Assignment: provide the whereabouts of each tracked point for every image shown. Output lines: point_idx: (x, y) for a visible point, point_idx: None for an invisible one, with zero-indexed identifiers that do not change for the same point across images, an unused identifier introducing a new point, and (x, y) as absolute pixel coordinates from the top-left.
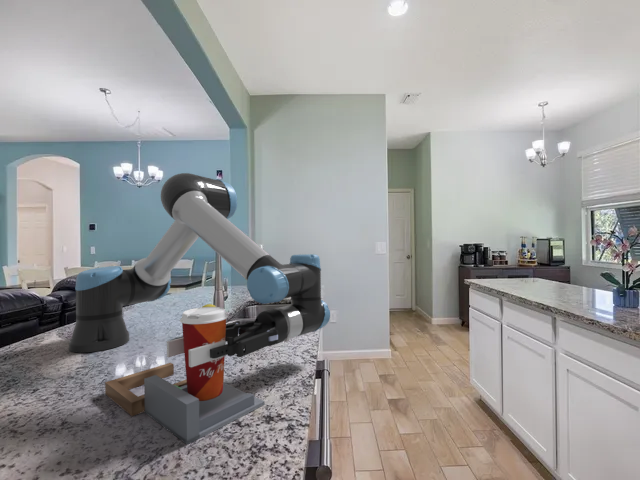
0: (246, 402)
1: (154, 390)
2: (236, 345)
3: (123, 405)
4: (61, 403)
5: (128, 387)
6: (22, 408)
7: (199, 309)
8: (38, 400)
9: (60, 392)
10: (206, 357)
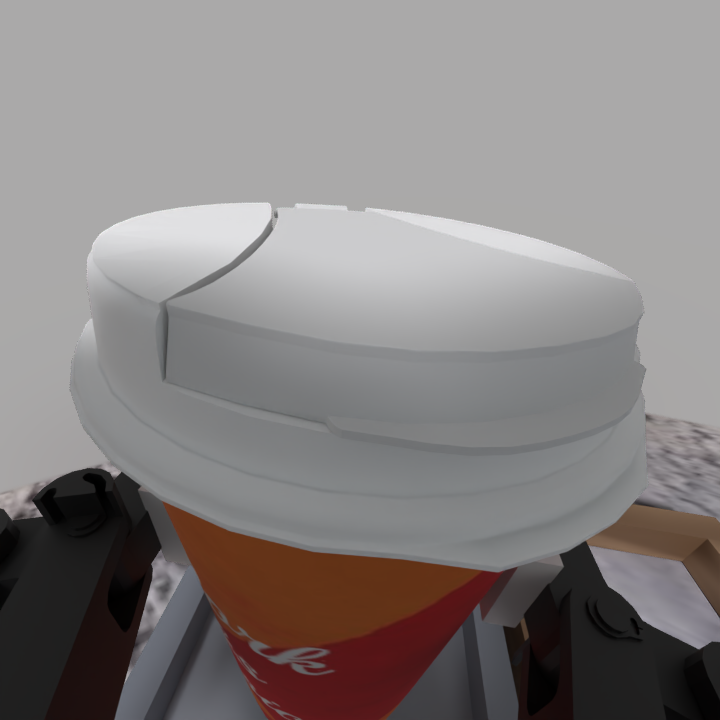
0: None
1: None
2: (19, 530)
3: None
4: (664, 467)
5: (713, 596)
6: (668, 430)
7: (493, 253)
8: (708, 453)
9: None
10: None
